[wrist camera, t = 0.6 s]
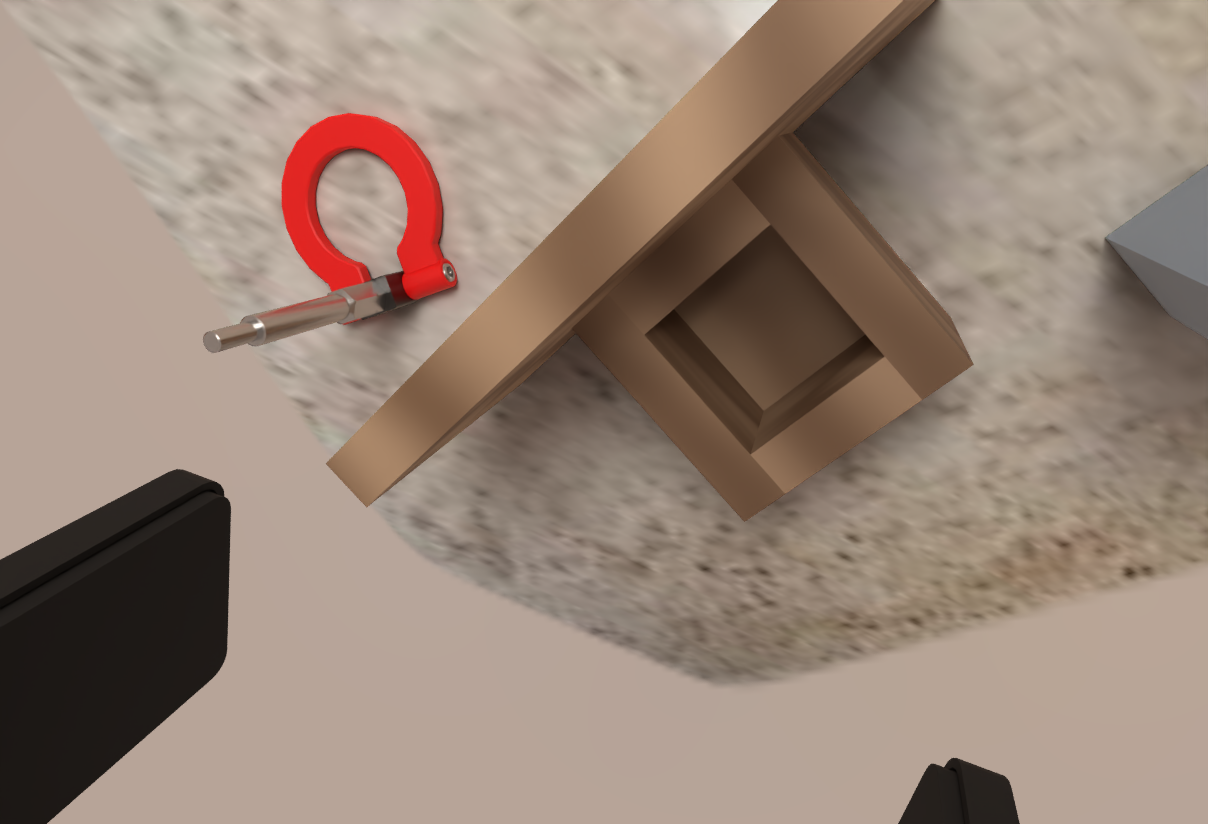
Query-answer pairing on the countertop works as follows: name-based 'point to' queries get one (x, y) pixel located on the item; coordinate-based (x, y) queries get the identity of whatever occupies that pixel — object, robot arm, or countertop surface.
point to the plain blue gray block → (1172, 251)
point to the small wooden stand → (709, 285)
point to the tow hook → (344, 275)
